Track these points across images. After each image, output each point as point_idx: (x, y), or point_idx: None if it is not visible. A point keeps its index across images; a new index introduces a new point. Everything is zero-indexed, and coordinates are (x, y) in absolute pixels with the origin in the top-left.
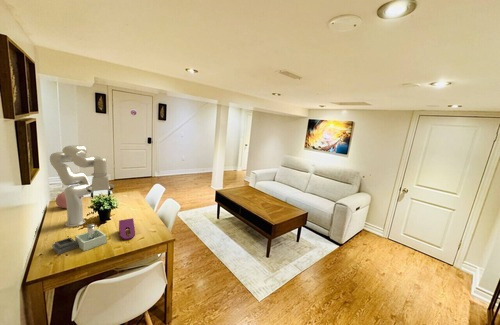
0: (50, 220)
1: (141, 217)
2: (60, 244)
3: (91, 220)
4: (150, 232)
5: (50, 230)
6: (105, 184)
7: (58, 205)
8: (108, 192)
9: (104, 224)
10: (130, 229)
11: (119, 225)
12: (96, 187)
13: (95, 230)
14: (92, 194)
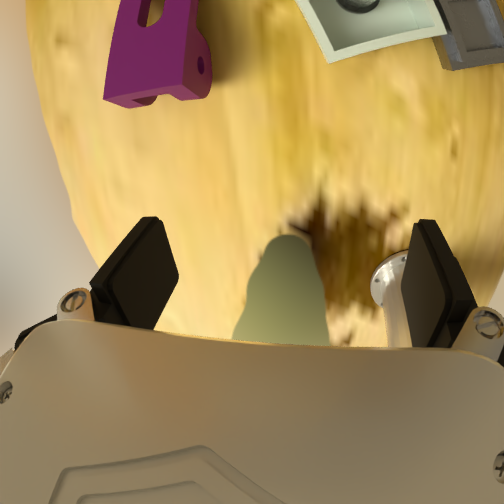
0: None
1: (121, 217)
2: (489, 33)
3: (345, 283)
4: (74, 31)
5: (488, 254)
6: (2, 497)
7: None
8: (109, 272)
9: (291, 210)
10: (136, 13)
11: (190, 58)
12: (404, 495)
13: (341, 49)
14: (454, 278)
